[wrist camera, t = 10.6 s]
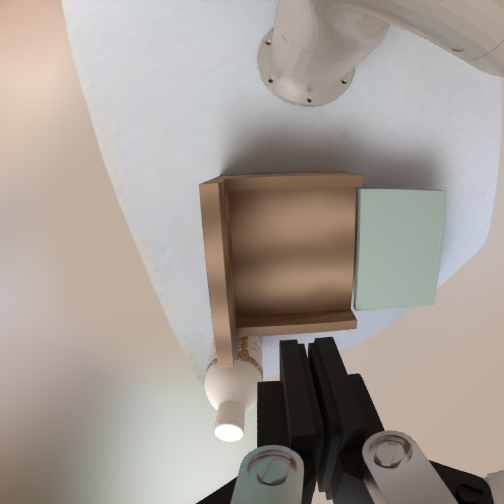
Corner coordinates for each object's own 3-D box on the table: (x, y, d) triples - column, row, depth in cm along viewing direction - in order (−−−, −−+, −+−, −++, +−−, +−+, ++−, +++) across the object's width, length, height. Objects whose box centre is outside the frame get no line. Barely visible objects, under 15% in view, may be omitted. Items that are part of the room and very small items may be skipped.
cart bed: (219, 176, 40) (199, 184, 26) (341, 171, 40) (385, 179, 25) (228, 304, 45) (217, 366, 31) (339, 298, 45) (371, 356, 30)
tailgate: (360, 188, 33) (445, 191, 32) (356, 187, 35) (438, 189, 34) (355, 310, 37) (433, 304, 36) (352, 304, 39) (428, 299, 38)
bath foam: (269, 341, 47) (276, 441, 28) (230, 358, 48) (218, 458, 29) (247, 305, 45) (242, 401, 26) (206, 325, 46) (180, 421, 27)
